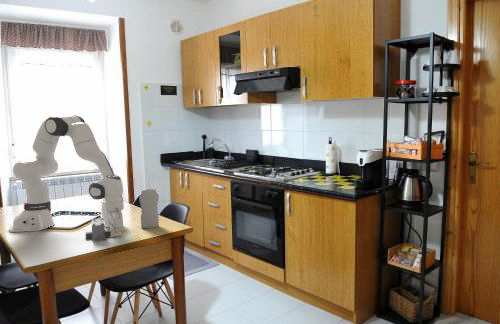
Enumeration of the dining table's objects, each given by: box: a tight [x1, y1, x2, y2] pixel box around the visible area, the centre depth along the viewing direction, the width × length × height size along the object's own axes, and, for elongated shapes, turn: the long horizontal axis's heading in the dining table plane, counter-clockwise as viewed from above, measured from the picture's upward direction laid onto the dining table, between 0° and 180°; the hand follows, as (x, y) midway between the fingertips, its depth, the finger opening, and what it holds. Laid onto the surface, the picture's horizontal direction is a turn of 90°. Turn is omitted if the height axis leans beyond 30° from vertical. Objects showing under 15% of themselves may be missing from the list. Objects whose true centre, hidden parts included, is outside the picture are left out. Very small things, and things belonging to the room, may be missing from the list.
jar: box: [100, 199, 112, 228], centre depth 222 cm, size 11×10×15 cm
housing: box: [91, 217, 106, 242], centre depth 202 cm, size 6×13×9 cm, turn 21°
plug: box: [85, 226, 125, 240], centre depth 203 cm, size 19×4×4 cm, turn 111°
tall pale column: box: [138, 188, 160, 230], centre depth 218 cm, size 11×4×22 cm, turn 116°
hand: (115, 231), depth 205 cm, fingers closed on plug, 5 cm apart
